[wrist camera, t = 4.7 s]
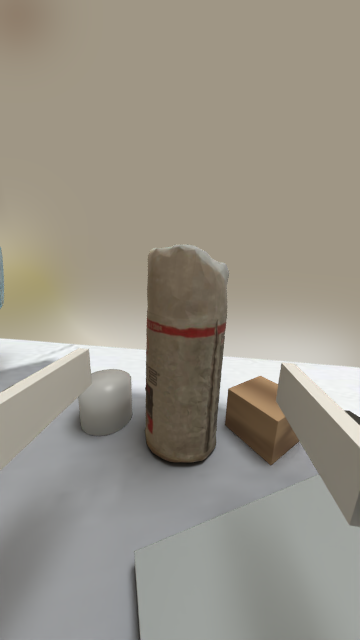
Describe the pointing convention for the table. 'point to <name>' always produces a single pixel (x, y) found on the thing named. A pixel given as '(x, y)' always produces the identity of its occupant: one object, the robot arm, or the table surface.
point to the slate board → (256, 573)
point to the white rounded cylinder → (106, 403)
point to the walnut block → (259, 418)
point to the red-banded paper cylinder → (184, 351)
